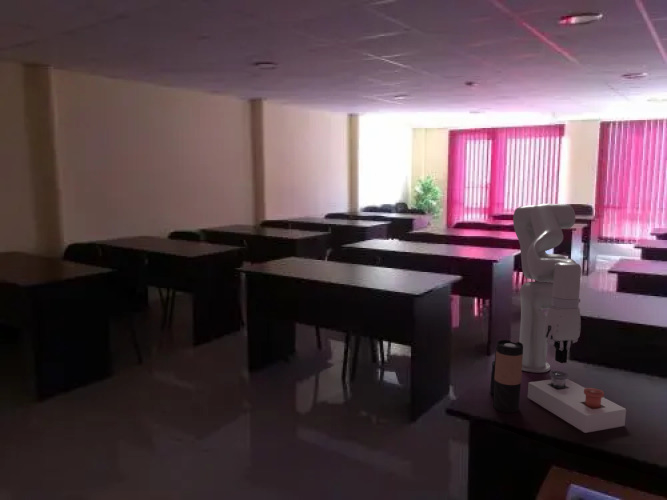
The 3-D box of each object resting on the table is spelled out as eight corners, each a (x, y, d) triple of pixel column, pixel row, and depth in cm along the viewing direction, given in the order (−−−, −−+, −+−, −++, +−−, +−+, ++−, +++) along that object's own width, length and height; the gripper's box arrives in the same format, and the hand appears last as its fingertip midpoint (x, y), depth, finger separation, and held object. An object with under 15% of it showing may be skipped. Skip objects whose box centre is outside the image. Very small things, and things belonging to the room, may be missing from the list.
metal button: (545, 385, 169) (546, 371, 168) (558, 383, 171) (559, 369, 170) (557, 391, 164) (558, 377, 163) (570, 389, 166) (572, 375, 165)
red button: (578, 403, 156) (579, 389, 155) (592, 401, 157) (594, 386, 157) (592, 411, 151) (593, 396, 150) (607, 409, 153) (608, 394, 152)
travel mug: (499, 413, 159) (503, 348, 156) (488, 402, 166) (492, 340, 163) (524, 412, 160) (528, 347, 157) (511, 401, 168) (515, 339, 164)
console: (527, 397, 170) (528, 382, 170) (563, 392, 175) (564, 377, 174) (584, 432, 148) (586, 415, 147) (624, 425, 152) (626, 409, 152)
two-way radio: (490, 388, 177) (492, 344, 175) (504, 390, 176) (507, 345, 174) (490, 395, 172) (492, 350, 170) (504, 397, 171) (507, 351, 168)
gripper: (575, 299, 169) (571, 355, 171) (536, 301, 164) (532, 360, 166) (594, 304, 162) (589, 363, 164) (553, 307, 157) (549, 368, 159)
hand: (560, 361), depth 165 cm, fingers closed
